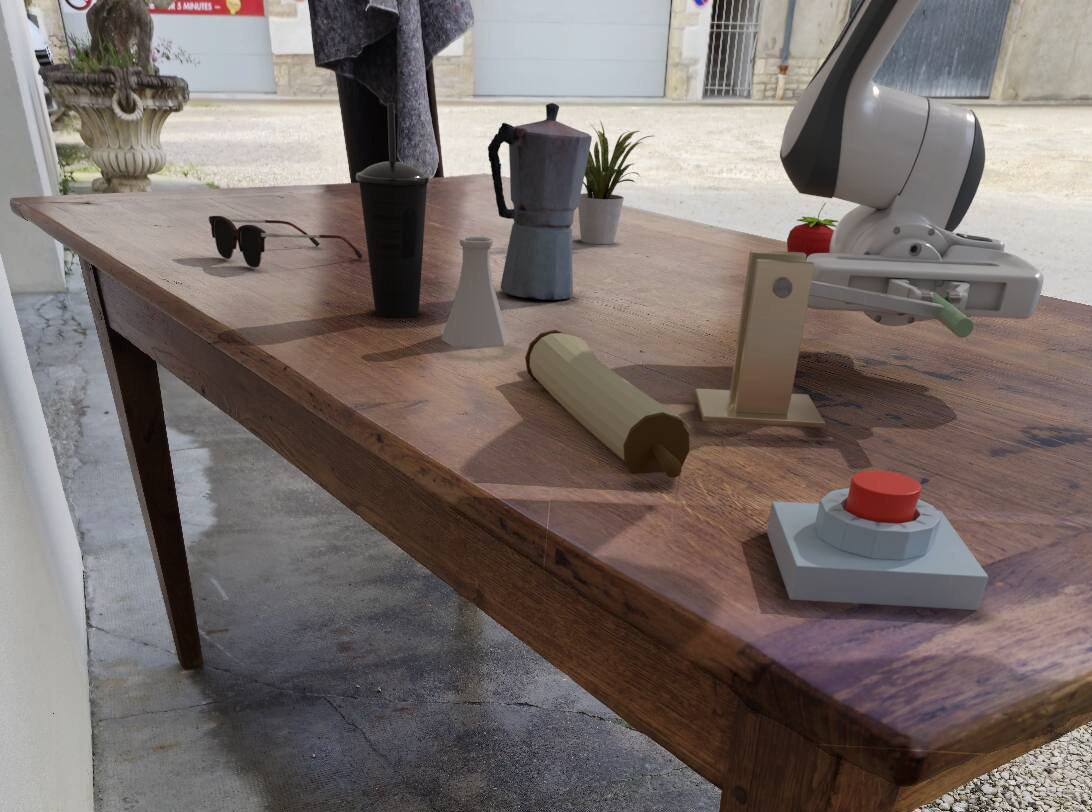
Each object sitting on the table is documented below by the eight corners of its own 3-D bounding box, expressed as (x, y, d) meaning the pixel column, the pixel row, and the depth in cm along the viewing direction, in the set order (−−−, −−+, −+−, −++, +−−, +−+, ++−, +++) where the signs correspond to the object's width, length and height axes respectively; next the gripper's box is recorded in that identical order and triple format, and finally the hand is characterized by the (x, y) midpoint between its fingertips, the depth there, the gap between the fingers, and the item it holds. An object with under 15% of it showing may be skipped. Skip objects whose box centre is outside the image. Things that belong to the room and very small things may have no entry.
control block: (932, 541, 69) (948, 483, 67) (978, 610, 61) (998, 547, 58) (766, 532, 69) (776, 474, 67) (789, 600, 61) (802, 536, 59)
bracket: (805, 407, 93) (835, 251, 85) (822, 436, 86) (855, 269, 79) (693, 401, 93) (713, 244, 86) (701, 430, 86) (723, 262, 79)
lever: (932, 316, 89) (943, 286, 88) (967, 345, 81) (979, 313, 79) (748, 281, 88) (757, 250, 87) (765, 307, 80) (774, 274, 78)
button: (903, 504, 64) (911, 472, 63) (920, 529, 61) (929, 496, 60) (839, 500, 65) (846, 468, 63) (852, 525, 61) (859, 492, 60)
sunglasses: (210, 254, 140) (207, 213, 137) (313, 252, 150) (312, 213, 147) (263, 272, 132) (261, 228, 129) (368, 268, 142) (368, 227, 139)
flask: (443, 356, 102) (442, 245, 96) (436, 338, 108) (435, 232, 102) (515, 356, 103) (519, 246, 98) (505, 338, 109) (508, 233, 103)
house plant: (657, 238, 166) (669, 118, 156) (645, 252, 154) (657, 124, 145) (569, 231, 168) (576, 113, 159) (551, 244, 157) (557, 118, 147)
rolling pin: (512, 376, 97) (514, 320, 95) (569, 374, 99) (572, 318, 96) (636, 504, 72) (643, 433, 69) (710, 499, 74) (720, 428, 71)
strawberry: (806, 280, 142) (821, 198, 136) (839, 292, 136) (856, 206, 130) (769, 282, 140) (783, 198, 134) (801, 293, 134) (816, 207, 128)
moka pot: (606, 294, 129) (620, 105, 118) (520, 311, 120) (526, 107, 108) (550, 281, 134) (558, 99, 123) (463, 296, 125) (463, 100, 113)
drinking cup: (438, 308, 119) (436, 103, 108) (421, 323, 113) (417, 107, 102) (374, 303, 120) (365, 99, 109) (353, 317, 114) (342, 103, 102)
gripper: (793, 230, 95) (820, 257, 84) (1018, 240, 95) (1075, 269, 84) (782, 303, 99) (806, 339, 88) (998, 313, 99) (1050, 350, 87)
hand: (939, 305), depth 86 cm, fingers closed on lever
